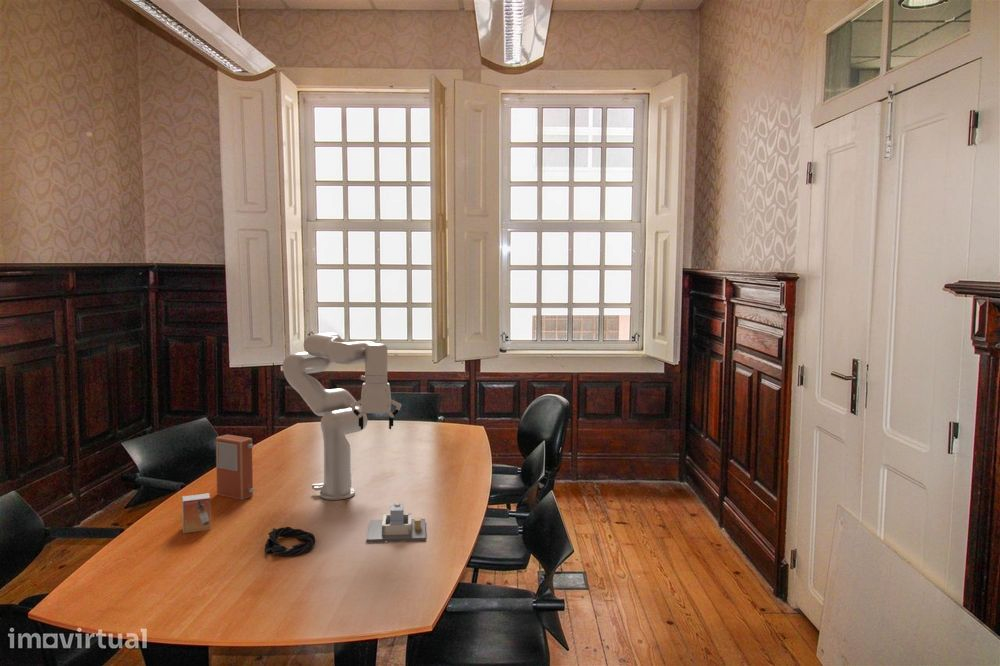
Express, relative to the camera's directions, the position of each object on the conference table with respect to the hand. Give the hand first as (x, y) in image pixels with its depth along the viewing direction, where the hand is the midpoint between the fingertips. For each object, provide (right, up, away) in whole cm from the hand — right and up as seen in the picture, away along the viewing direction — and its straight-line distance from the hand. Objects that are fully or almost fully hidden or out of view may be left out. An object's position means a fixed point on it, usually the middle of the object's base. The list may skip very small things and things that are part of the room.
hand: (376, 428), depth 228 cm
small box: (-53, -29, -19) cm, 64 cm away
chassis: (+10, -30, -18) cm, 37 cm away
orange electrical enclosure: (-54, -27, +13) cm, 62 cm away
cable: (-20, -31, -30) cm, 48 cm away
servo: (+10, -29, -18) cm, 36 cm away
